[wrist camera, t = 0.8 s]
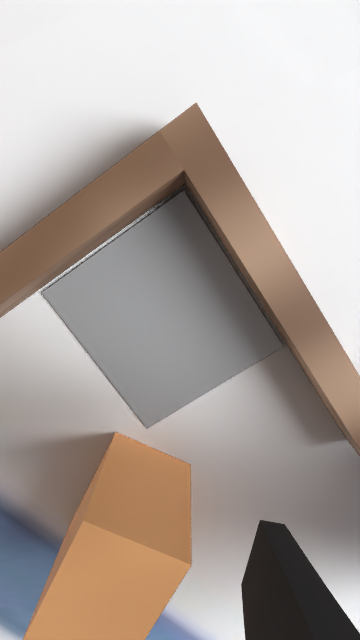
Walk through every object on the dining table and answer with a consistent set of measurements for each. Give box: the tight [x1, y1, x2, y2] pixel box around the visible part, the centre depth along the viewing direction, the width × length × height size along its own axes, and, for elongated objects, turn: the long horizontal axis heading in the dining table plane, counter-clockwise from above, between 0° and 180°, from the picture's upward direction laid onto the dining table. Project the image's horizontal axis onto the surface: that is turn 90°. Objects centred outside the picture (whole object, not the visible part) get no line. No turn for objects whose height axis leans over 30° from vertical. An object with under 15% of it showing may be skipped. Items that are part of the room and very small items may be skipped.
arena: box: [0, 103, 360, 456], centre depth 16 cm, size 17×17×4 cm
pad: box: [42, 190, 283, 428], centre depth 17 cm, size 9×8×1 cm
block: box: [23, 432, 191, 640], centre depth 17 cm, size 4×7×6 cm, turn 154°
